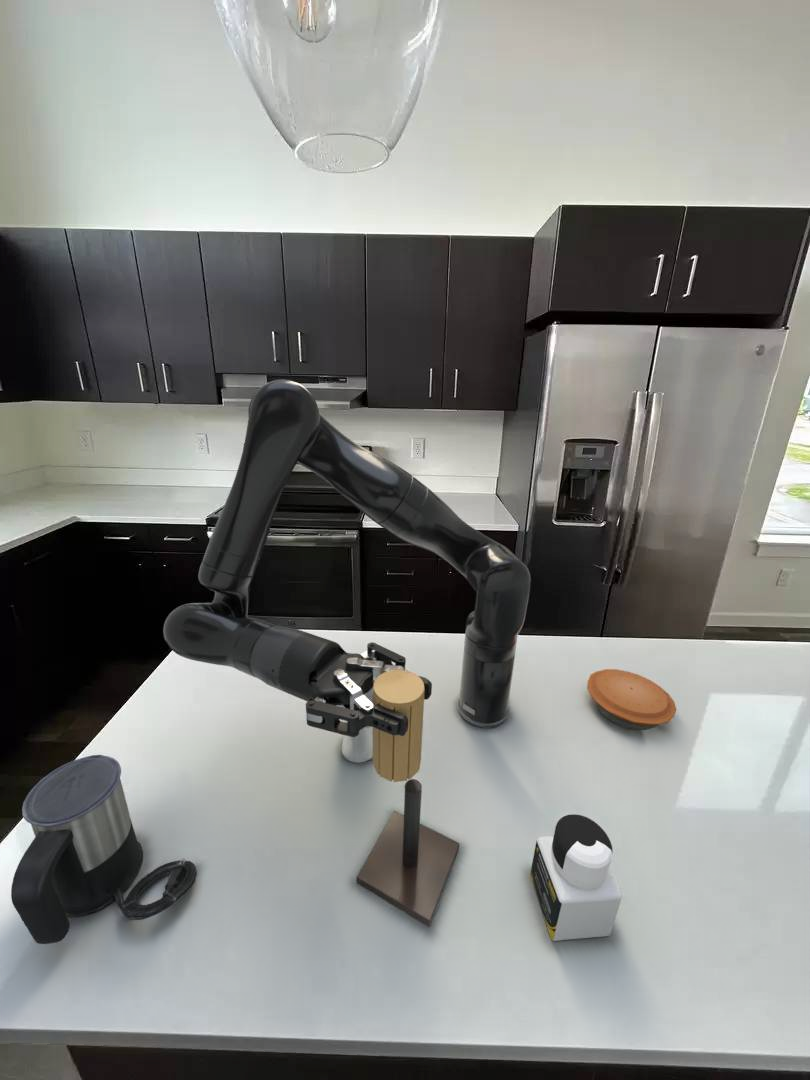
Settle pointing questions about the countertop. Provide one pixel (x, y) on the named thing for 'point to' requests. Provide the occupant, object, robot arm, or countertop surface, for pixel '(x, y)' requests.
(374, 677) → the chrome tumbler
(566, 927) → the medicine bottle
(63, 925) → the milk frother
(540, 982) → the countertop surface
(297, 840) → the countertop surface
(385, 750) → the grooved tan cylinder
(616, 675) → the pie
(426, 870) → the peg stand
